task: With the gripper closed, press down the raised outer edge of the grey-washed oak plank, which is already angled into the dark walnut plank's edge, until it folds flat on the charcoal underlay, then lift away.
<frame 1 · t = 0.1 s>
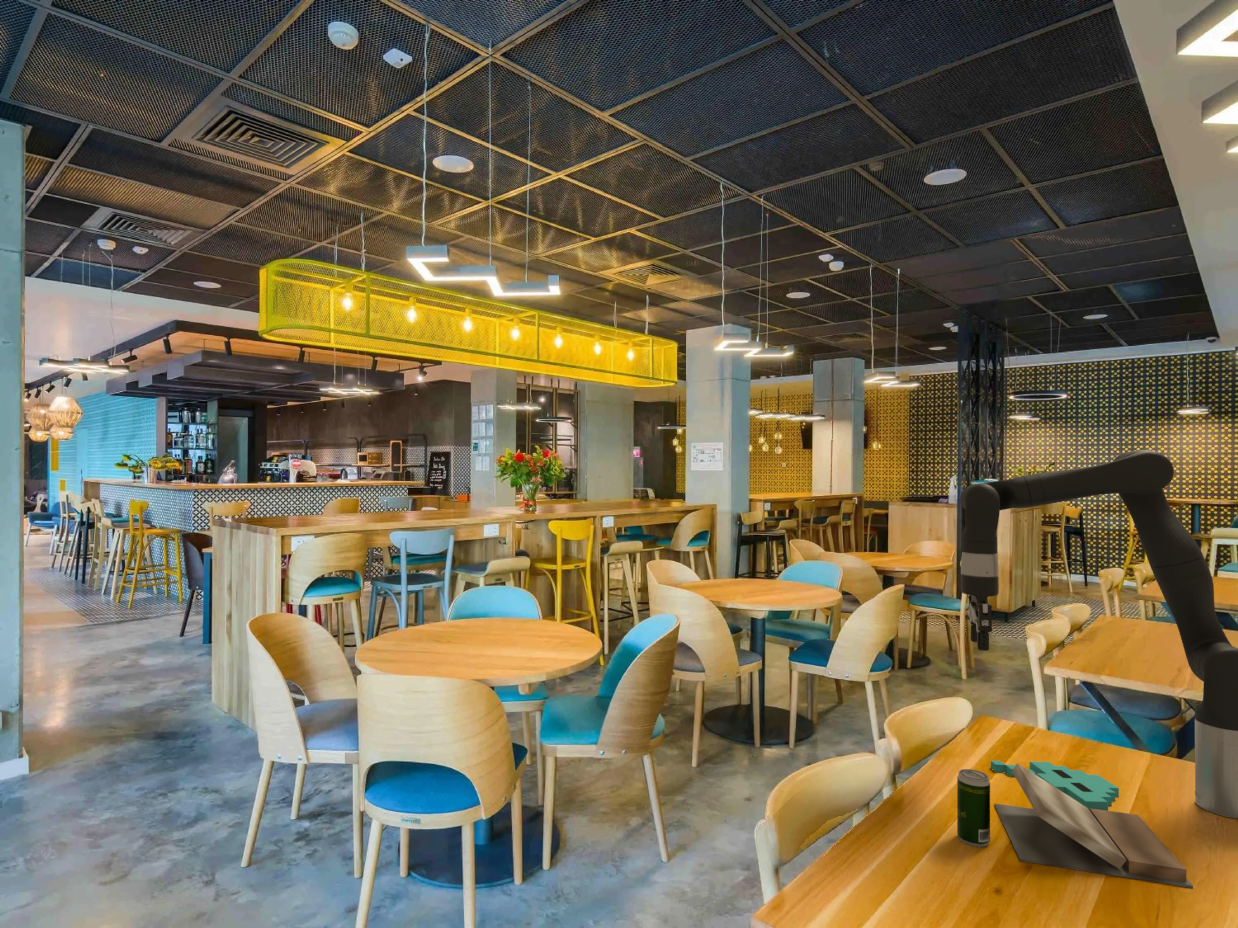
hand: (979, 645, 157), 29 cm above the table, tool pointing down, fingers open, 8 cm apart
beer can: (973, 841, 129), on the table
floor base: (1082, 841, 129), on the table
oak plank: (1063, 811, 130), point 5 cm above the table, hinge at 30.0°
alien figure: (1061, 791, 151), on the table
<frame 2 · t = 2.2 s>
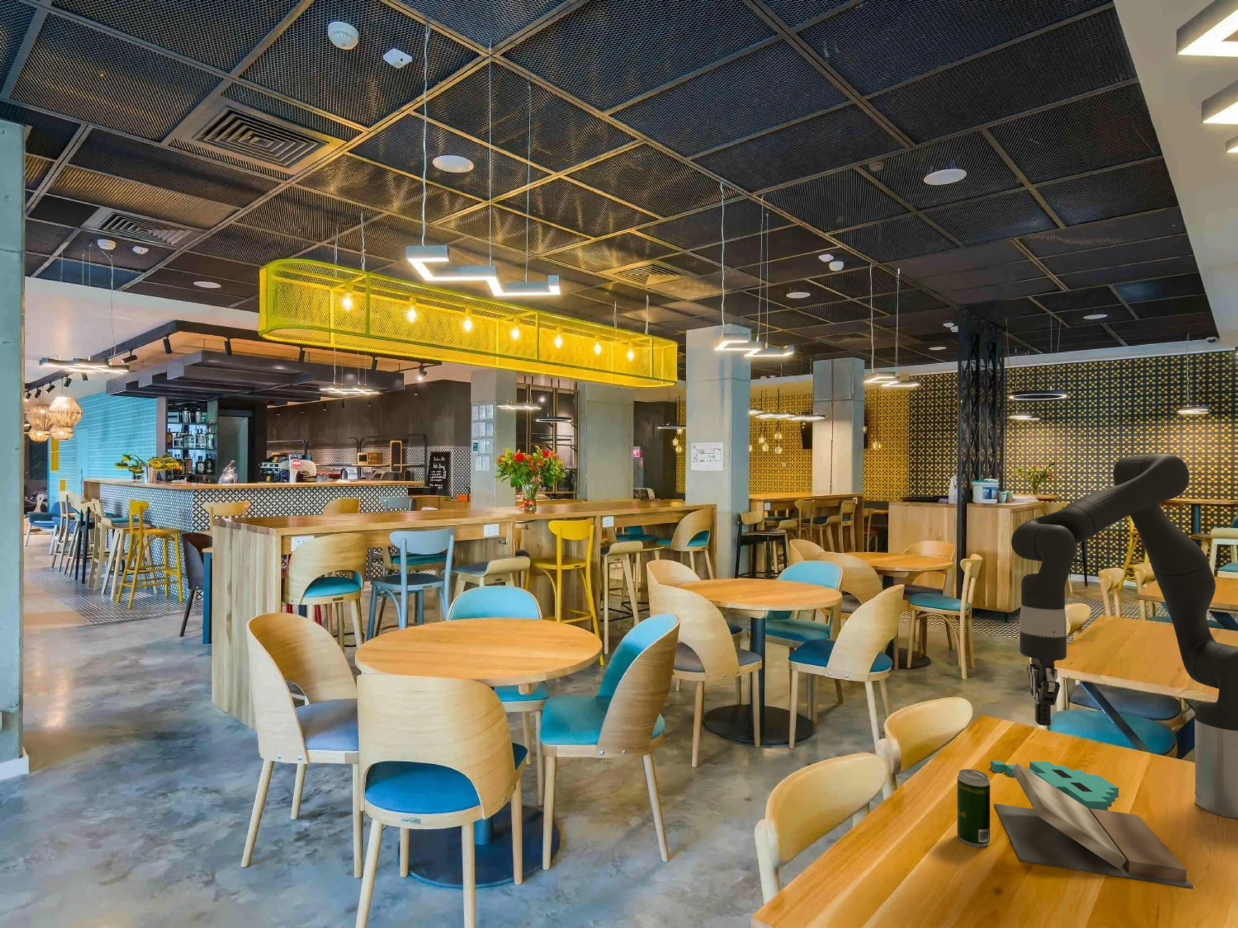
hand: (1042, 723, 131), 21 cm above the table, tool pointing down, fingers closed
nothing on the table moved.
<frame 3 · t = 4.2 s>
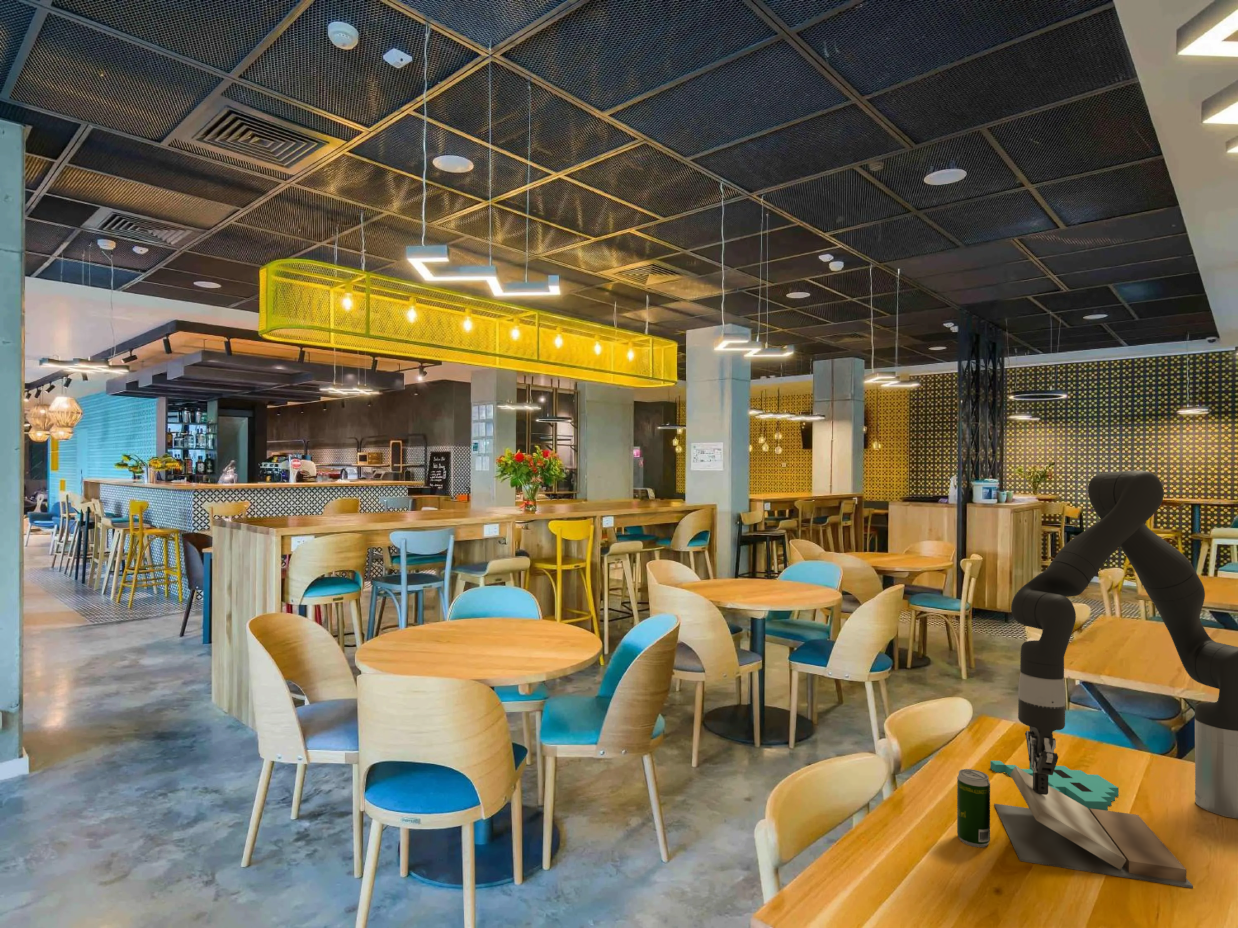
hand: (1040, 792, 131), 8 cm above the table, tool pointing down, fingers closed
oak plank: (1063, 813, 130), point 5 cm above the table, hinge at 26.8°, touching gripper
everything else where it was.
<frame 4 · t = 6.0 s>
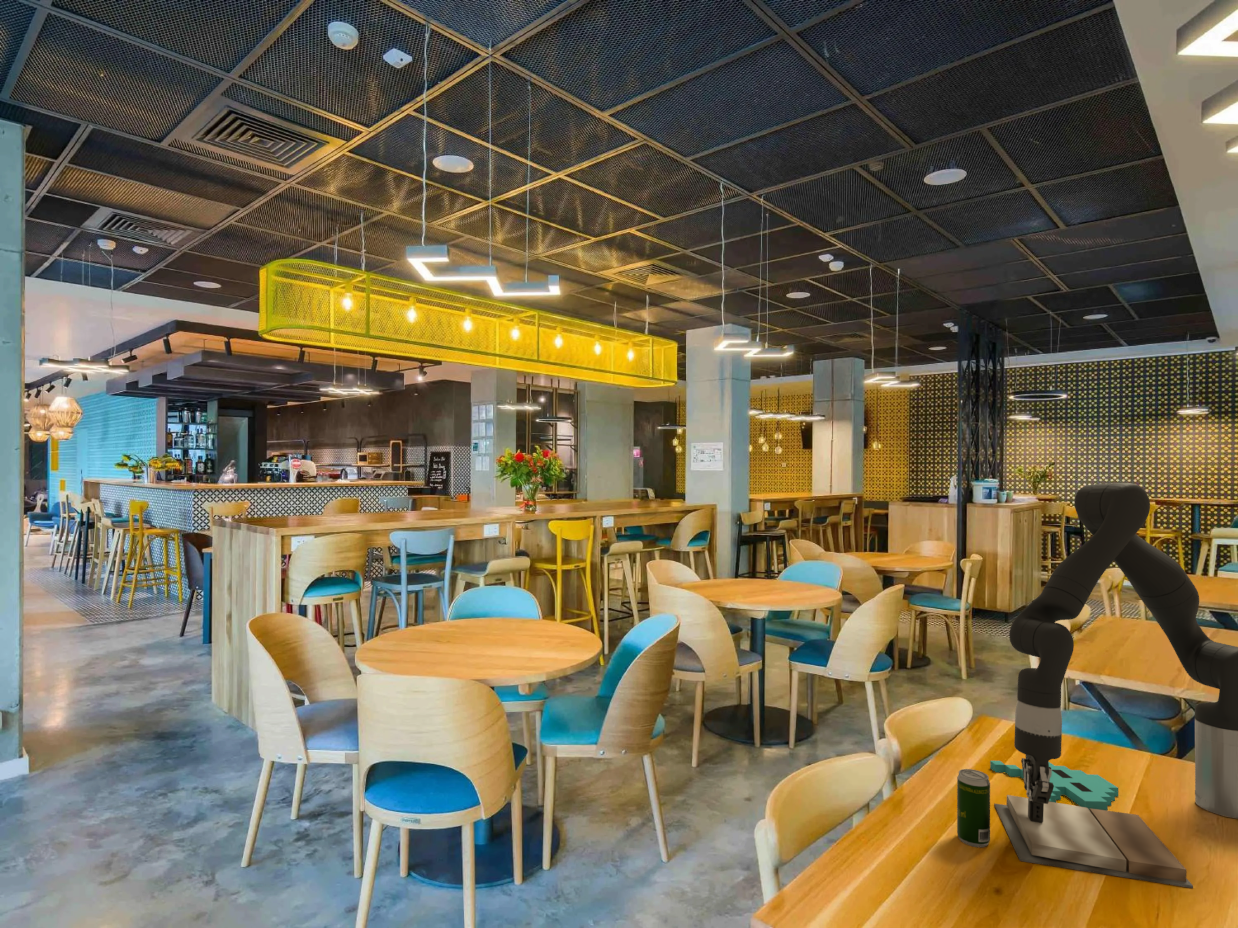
hand: (1035, 820, 131), 3 cm above the table, tool pointing down, fingers closed
oak plank: (1061, 829, 130), point 2 cm above the table, hinge at 1.8°, touching gripper
everything else where it was.
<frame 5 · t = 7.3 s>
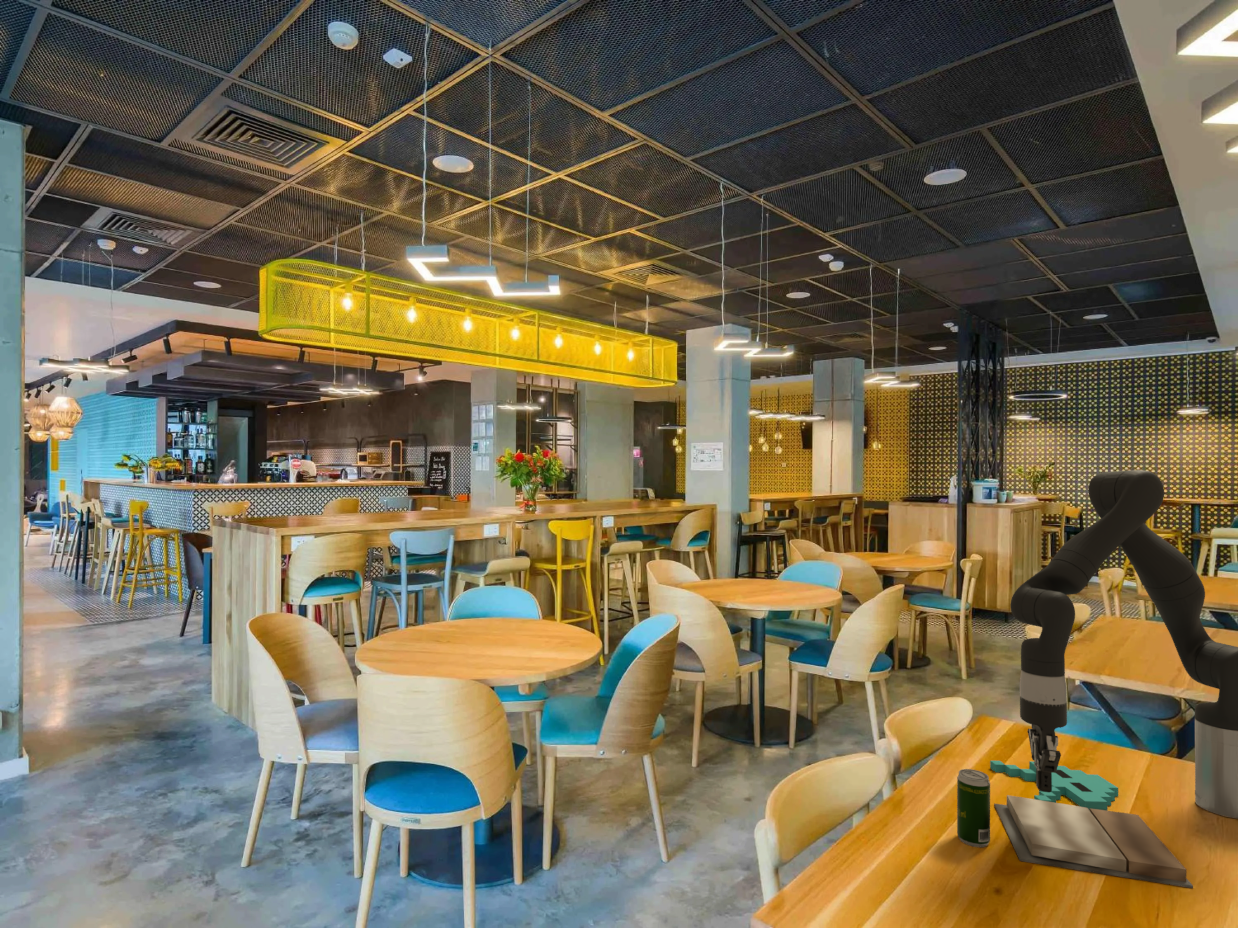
hand: (1043, 789, 131), 9 cm above the table, tool pointing down, fingers closed
oak plank: (1061, 829, 130), point 2 cm above the table, hinge at 1.6°
everything else where it was.
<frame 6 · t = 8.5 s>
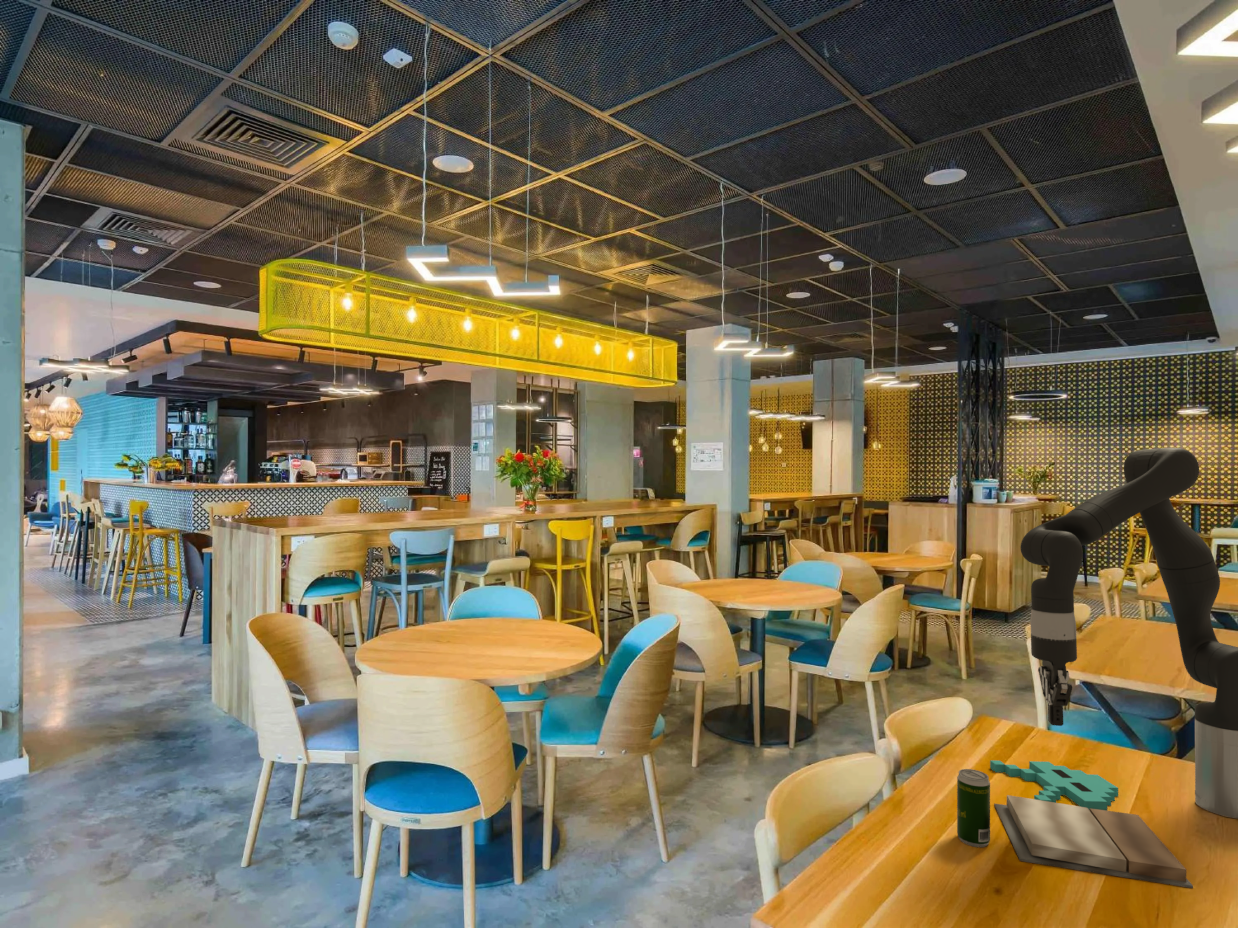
hand: (1055, 723, 135), 19 cm above the table, tool pointing down, fingers closed
nothing on the table moved.
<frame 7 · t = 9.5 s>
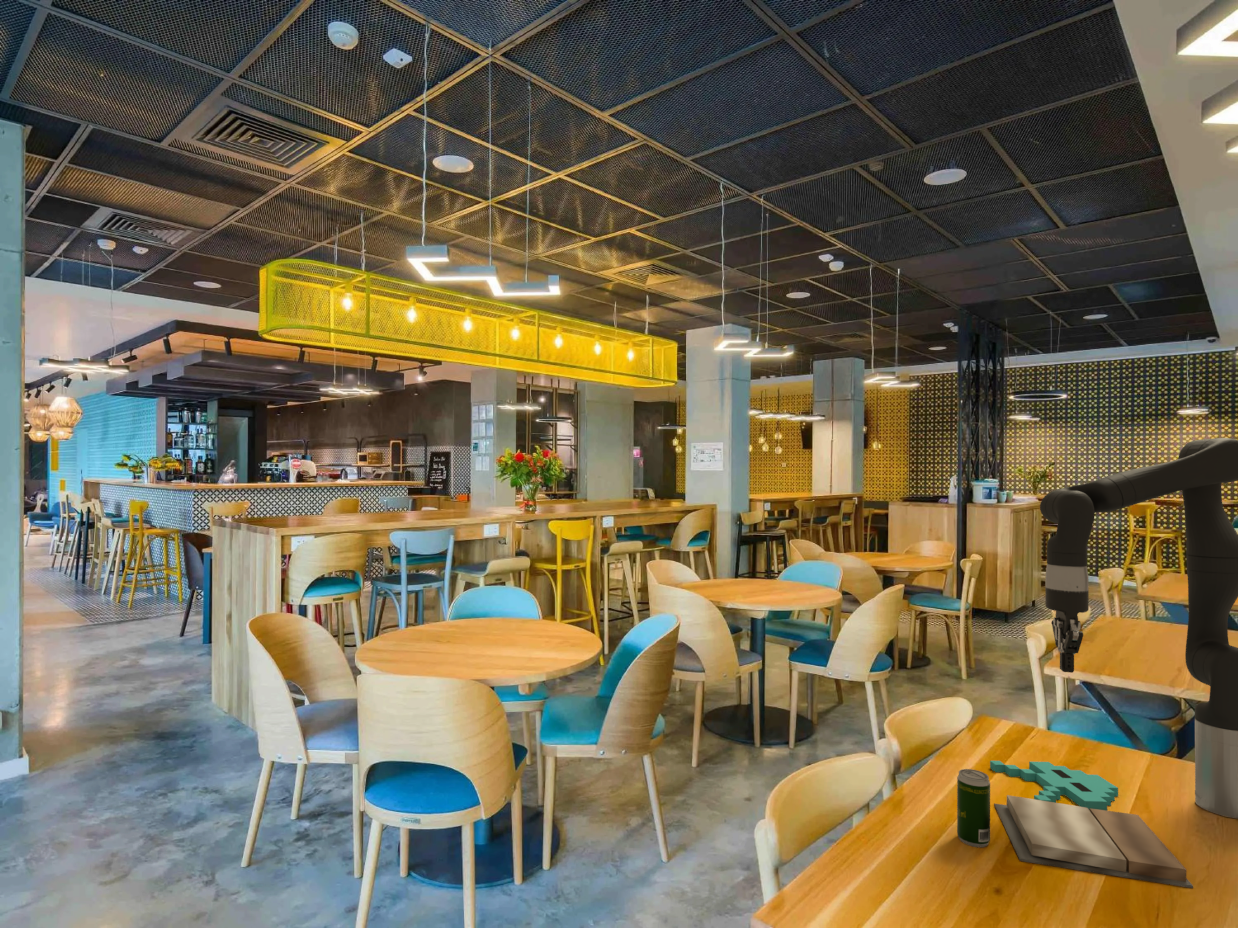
hand: (1066, 671, 145), 27 cm above the table, tool pointing down, fingers closed
nothing on the table moved.
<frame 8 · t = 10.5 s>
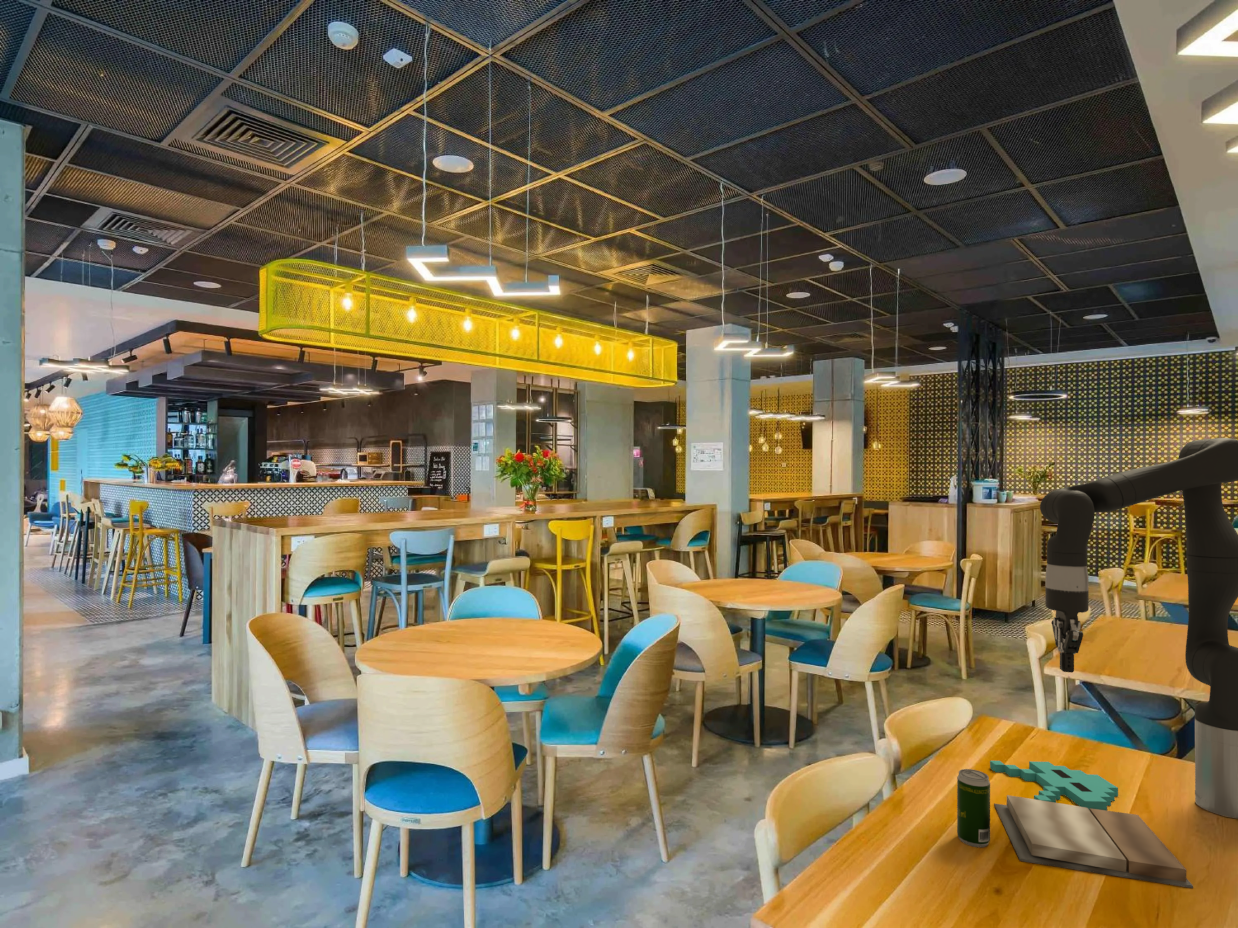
hand: (1066, 671, 145), 27 cm above the table, tool pointing down, fingers closed
nothing on the table moved.
at the end: oak plank at +2° (first picture: +30°); the gripper is holding nothing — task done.
